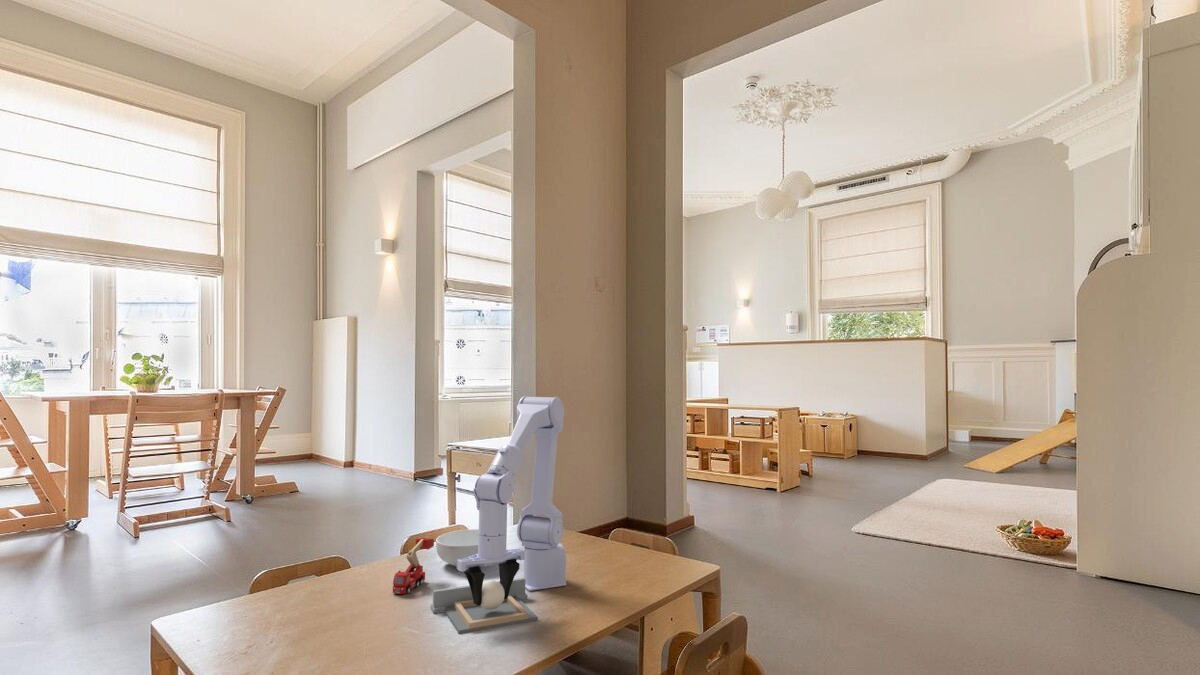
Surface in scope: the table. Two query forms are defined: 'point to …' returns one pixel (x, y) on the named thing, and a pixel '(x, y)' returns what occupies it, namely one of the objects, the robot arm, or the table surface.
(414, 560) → the toy fire truck
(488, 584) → the ball
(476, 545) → the cereal bowl
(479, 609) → the resting mat
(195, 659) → the table surface
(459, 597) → the grey barrier bar
